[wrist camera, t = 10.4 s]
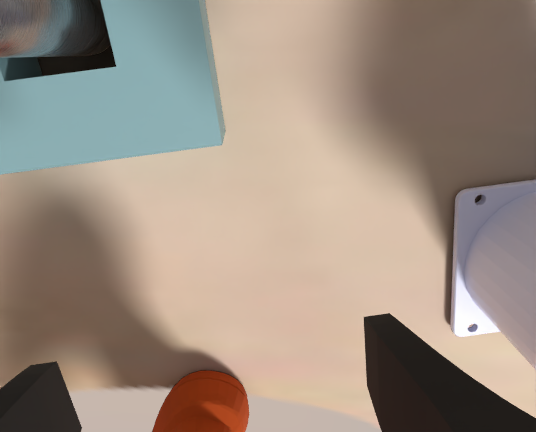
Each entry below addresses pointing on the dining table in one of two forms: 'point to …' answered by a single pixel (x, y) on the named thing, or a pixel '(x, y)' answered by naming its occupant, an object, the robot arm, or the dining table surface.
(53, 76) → the block
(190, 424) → the toy drill
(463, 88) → the dining table surface
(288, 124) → the dining table surface
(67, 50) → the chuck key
